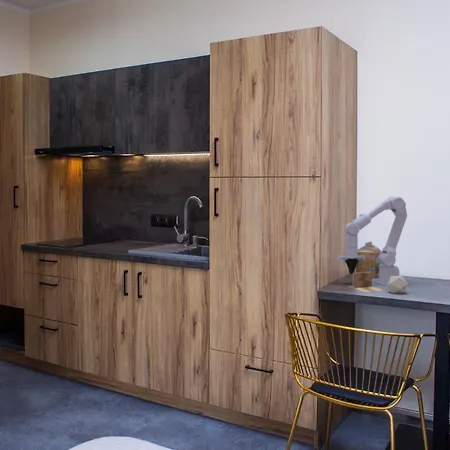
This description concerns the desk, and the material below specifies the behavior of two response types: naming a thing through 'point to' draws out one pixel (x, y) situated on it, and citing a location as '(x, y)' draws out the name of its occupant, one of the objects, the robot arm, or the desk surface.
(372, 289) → the light wood board
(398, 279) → the die
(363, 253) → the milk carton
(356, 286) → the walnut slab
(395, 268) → the robot arm
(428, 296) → the desk surface
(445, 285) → the desk surface
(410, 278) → the desk surface
